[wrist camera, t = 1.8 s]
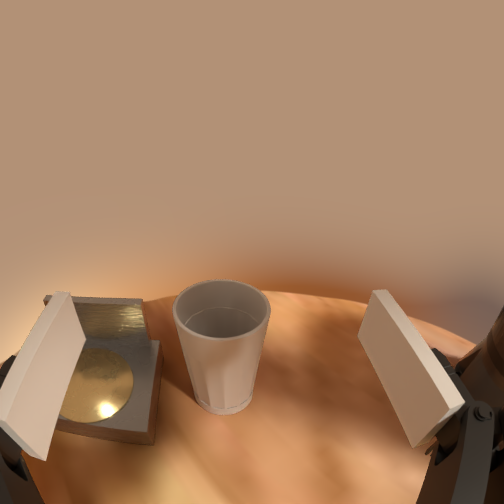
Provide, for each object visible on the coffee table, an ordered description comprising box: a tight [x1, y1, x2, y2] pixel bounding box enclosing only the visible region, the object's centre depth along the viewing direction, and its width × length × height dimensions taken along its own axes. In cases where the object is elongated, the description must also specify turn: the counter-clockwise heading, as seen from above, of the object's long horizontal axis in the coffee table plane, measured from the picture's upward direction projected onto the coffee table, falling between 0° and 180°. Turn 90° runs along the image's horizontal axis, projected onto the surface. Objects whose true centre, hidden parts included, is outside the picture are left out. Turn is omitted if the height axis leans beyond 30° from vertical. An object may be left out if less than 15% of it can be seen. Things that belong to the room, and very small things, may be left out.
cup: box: [172, 279, 271, 415], centre depth 27 cm, size 8×8×12 cm
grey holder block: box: [43, 295, 164, 445], centre depth 25 cm, size 14×12×9 cm
